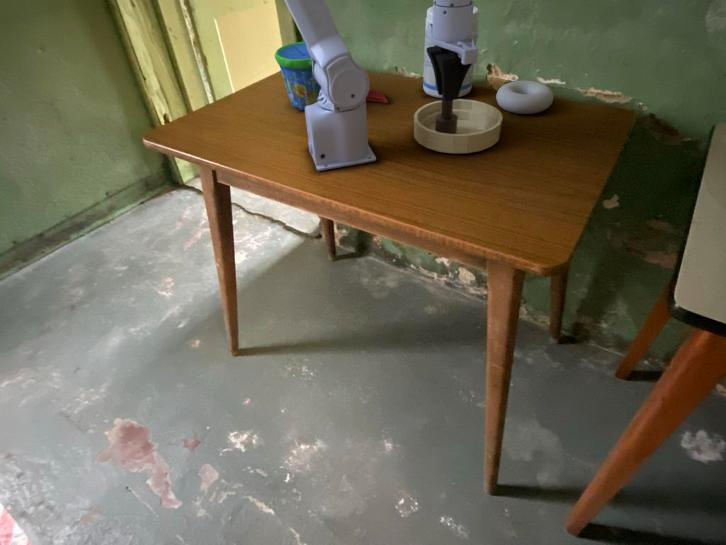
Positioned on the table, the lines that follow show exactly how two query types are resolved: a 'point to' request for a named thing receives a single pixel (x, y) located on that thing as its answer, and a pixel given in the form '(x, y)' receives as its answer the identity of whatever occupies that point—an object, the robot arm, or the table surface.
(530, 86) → the donut
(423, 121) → the bowl
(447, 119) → the pestle
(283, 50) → the snack cup
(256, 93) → the table surface
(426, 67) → the supplement tub
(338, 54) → the robot arm
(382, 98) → the red curved leaf
